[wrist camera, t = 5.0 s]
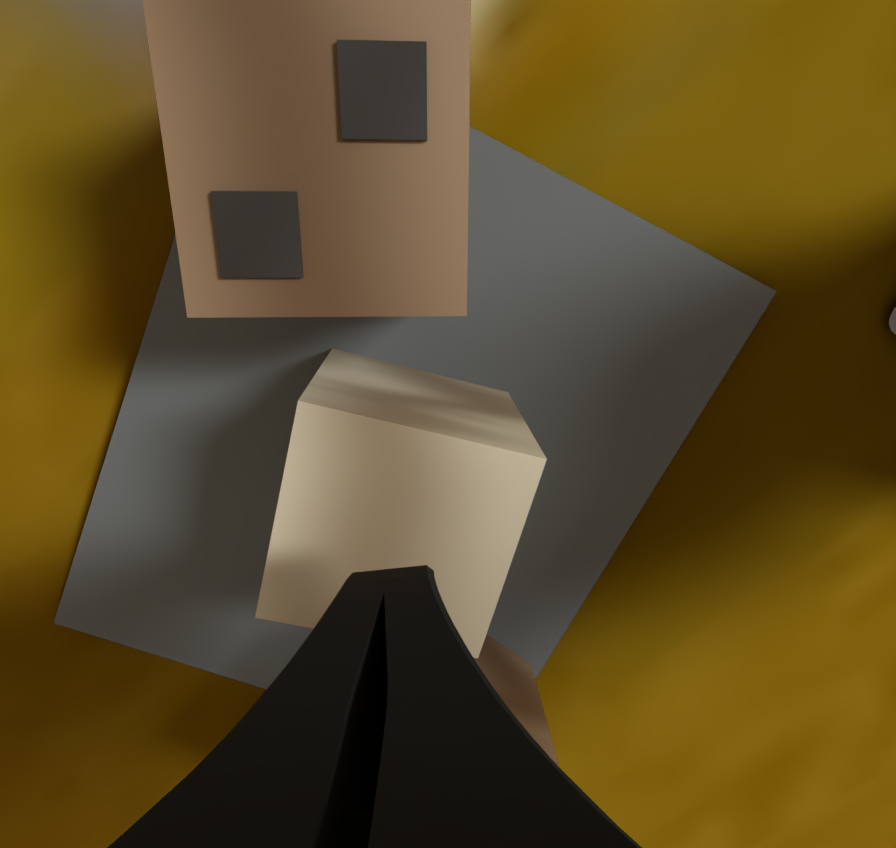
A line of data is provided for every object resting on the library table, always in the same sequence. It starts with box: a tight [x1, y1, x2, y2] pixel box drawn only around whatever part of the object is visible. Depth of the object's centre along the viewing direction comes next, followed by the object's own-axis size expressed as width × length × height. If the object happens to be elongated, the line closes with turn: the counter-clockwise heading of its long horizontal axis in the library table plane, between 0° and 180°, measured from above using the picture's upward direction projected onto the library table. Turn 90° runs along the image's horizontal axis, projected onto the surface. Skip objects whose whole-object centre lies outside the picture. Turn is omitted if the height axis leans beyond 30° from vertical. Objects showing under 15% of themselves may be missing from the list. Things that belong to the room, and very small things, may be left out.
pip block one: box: [474, 634, 559, 767], centre depth 17 cm, size 5×5×5 cm
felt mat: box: [54, 126, 777, 690], centre depth 17 cm, size 15×18×1 cm
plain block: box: [255, 348, 547, 658], centre depth 14 cm, size 5×5×5 cm
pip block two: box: [143, 0, 471, 318], centre depth 12 cm, size 5×5×5 cm
